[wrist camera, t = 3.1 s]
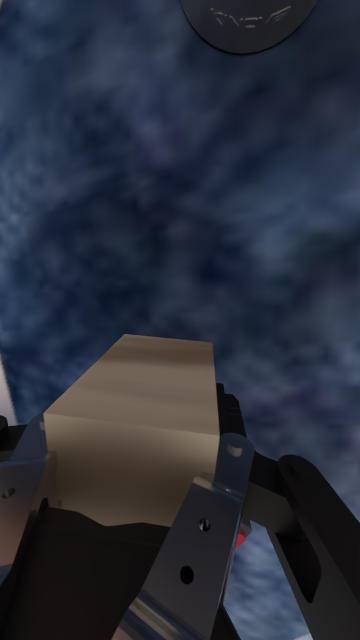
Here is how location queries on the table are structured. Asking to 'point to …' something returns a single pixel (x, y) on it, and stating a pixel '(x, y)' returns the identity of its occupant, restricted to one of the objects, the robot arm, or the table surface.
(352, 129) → the table surface
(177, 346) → the maple block
